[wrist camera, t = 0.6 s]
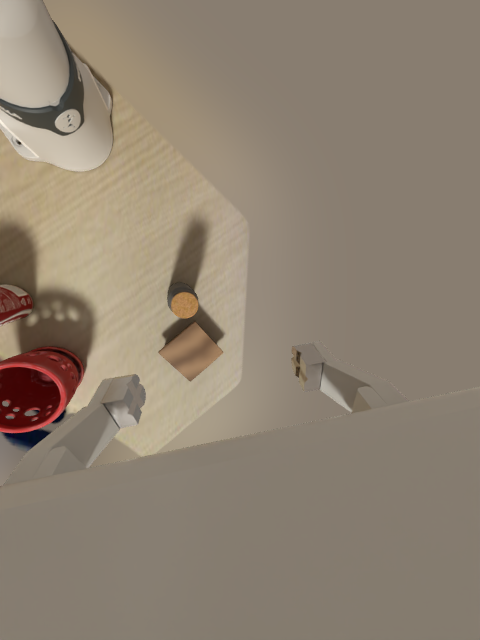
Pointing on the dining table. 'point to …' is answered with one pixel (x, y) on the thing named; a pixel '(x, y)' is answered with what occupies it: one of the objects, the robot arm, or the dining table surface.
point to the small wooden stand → (191, 351)
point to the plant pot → (37, 387)
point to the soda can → (14, 304)
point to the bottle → (182, 300)
